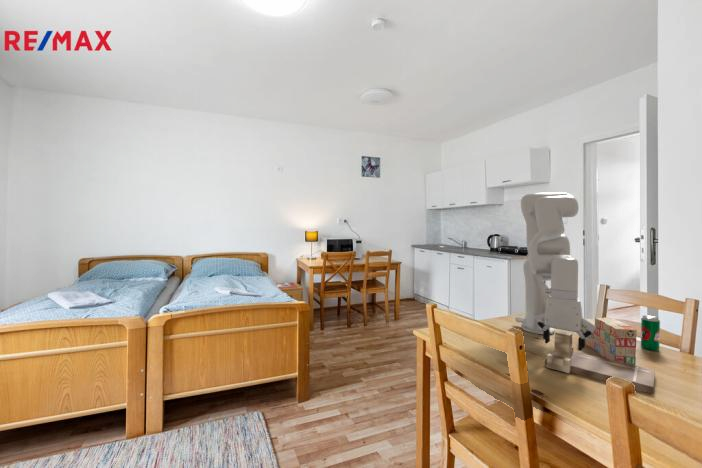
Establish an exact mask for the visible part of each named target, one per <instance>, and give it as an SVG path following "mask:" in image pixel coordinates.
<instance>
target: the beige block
mask: <svg viewBox="0 0 702 468" xmlns="http://www.w3.org/2000/svg"><path fill="white" fill-rule="evenodd" d="M553 350H554V352H556V353H555V354H554V355H552V354H551V353H548V354H547V355H546V358H547V365H546V368H548V369H552V370H555V371H558V372H562V373H566V374H570V373H571V372H570V359H569V357H570V356H571V355H572V353H573V351H574V346H573V332H570V331H565V330H560V329H557V331H556V332H554V348H553Z"/></svg>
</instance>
